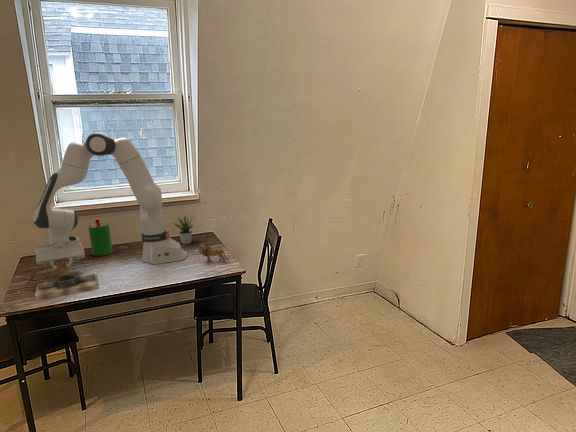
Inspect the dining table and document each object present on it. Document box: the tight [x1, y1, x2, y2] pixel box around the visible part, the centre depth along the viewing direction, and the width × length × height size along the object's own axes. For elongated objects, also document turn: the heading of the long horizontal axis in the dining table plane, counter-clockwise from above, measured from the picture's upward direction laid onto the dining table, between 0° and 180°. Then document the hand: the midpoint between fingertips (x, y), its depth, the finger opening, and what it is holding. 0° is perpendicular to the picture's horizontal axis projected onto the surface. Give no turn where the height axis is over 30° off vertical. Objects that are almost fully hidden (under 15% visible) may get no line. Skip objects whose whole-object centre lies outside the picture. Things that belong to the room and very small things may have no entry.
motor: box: [87, 217, 113, 257], centre depth 229 cm, size 10×9×20 cm
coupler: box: [55, 260, 69, 277], centre depth 197 cm, size 4×4×8 cm
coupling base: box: [34, 272, 100, 301], centre depth 185 cm, size 24×14×5 cm, turn 116°
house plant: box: [172, 214, 196, 245], centre depth 245 cm, size 14×14×16 cm
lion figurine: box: [198, 244, 230, 263], centre depth 212 cm, size 15×5×9 cm, turn 93°
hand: (62, 268), depth 196 cm, fingers closed on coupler, 4 cm apart
